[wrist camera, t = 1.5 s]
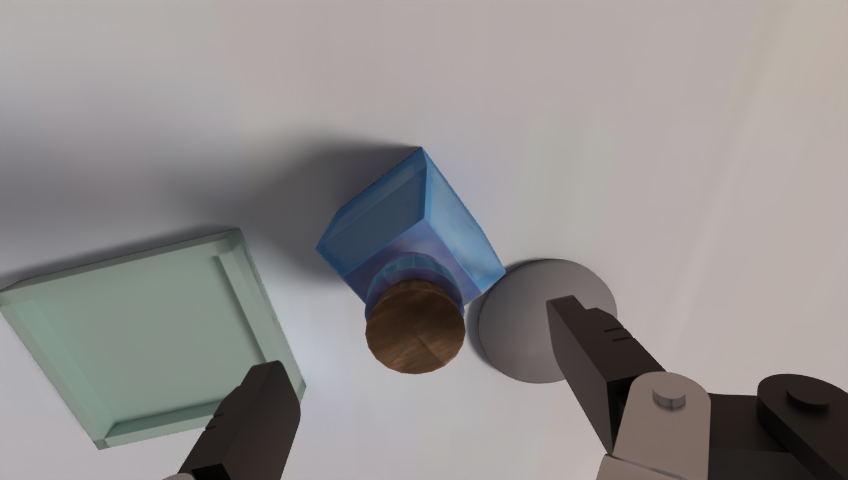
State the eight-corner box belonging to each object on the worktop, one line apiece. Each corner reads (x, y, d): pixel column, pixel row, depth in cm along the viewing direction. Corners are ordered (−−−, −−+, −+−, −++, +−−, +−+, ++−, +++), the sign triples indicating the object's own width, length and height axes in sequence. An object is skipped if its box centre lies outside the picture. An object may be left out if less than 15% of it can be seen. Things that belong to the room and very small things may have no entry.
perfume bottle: (421, 146, 22) (437, 199, 11) (482, 229, 24) (548, 347, 13) (337, 210, 23) (274, 318, 12) (401, 285, 25) (397, 439, 14)
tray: (18, 281, 24) (-11, 295, 22) (239, 228, 23) (226, 238, 22) (117, 428, 28) (98, 449, 26) (306, 386, 28) (299, 405, 26)
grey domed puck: (466, 277, 25) (468, 282, 24) (606, 244, 25) (612, 249, 24) (490, 387, 28) (492, 395, 28) (615, 360, 28) (620, 367, 27)
